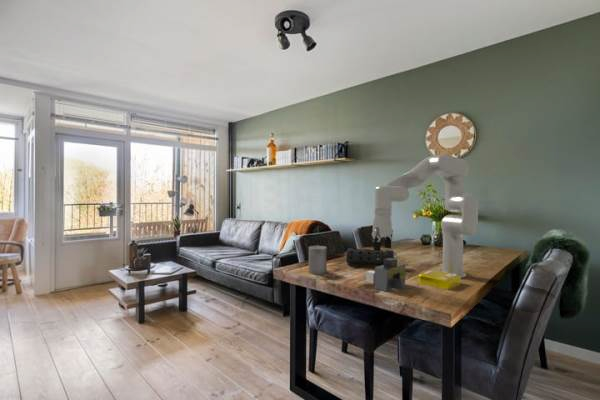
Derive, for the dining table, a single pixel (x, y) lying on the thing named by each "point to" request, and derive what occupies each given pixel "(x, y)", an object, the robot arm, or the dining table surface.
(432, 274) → the element tile
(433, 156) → the robot arm
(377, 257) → the muzzle brake
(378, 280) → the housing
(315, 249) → the pillar candle
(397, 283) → the grey and white bar
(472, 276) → the dining table surface
